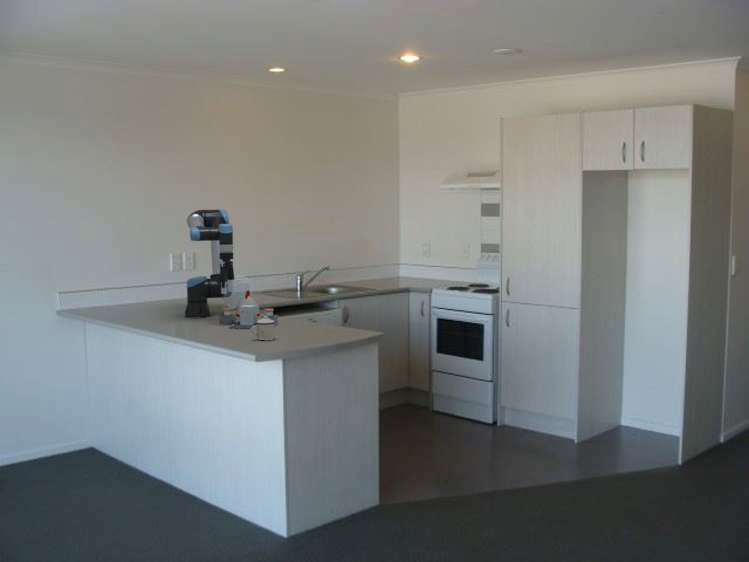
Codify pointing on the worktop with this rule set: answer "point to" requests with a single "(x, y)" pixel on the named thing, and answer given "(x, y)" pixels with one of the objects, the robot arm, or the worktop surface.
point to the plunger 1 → (227, 311)
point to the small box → (248, 314)
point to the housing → (232, 320)
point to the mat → (242, 326)
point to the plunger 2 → (269, 312)
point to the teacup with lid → (265, 329)
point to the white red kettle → (247, 303)
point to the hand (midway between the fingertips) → (227, 292)
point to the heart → (238, 291)
